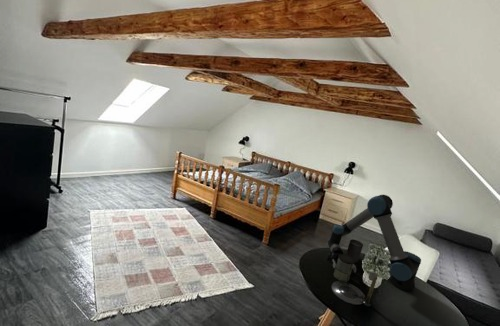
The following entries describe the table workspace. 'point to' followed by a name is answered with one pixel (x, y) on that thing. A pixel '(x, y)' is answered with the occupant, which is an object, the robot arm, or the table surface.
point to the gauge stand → (374, 278)
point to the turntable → (348, 292)
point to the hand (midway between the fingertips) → (345, 268)
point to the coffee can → (343, 267)
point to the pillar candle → (354, 249)
